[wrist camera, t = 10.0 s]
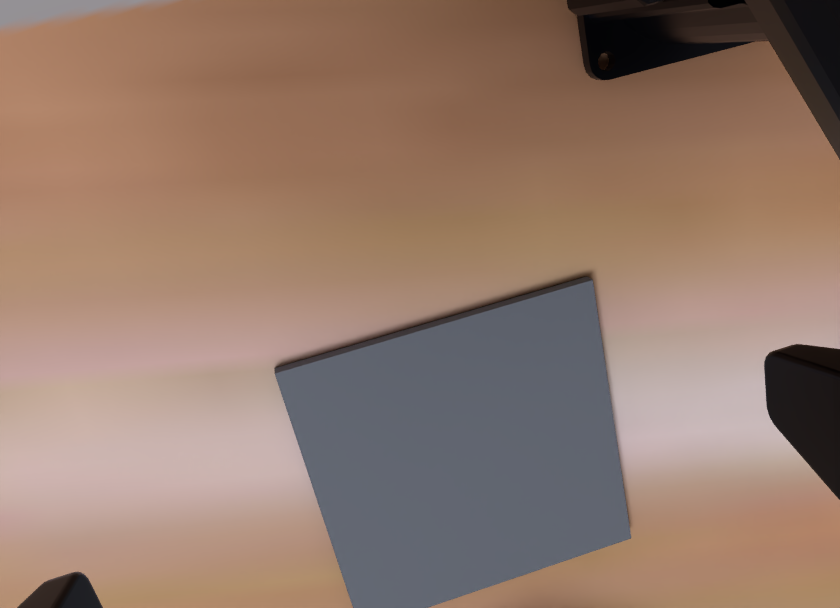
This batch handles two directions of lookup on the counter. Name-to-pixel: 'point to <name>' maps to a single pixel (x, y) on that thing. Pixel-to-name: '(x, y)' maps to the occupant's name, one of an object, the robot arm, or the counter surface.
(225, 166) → the counter surface
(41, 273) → the counter surface
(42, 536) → the counter surface
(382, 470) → the mat
